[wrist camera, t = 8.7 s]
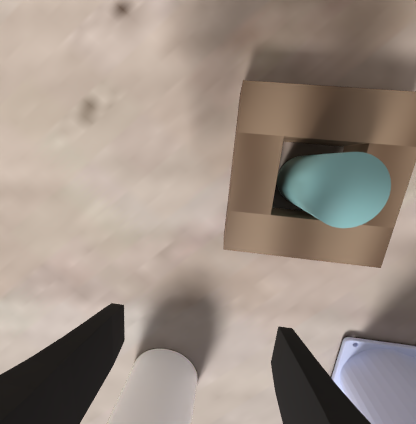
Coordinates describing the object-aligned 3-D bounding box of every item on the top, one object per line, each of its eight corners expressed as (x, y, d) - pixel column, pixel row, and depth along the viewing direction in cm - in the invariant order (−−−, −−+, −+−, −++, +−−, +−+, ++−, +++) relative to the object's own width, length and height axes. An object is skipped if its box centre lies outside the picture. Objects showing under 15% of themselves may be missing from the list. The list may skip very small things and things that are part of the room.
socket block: (398, 106, 15) (438, 93, 13) (356, 251, 18) (380, 267, 16) (240, 94, 16) (243, 80, 13) (223, 236, 19) (223, 249, 16)
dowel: (332, 160, 17) (404, 159, 10) (317, 206, 18) (373, 234, 11) (284, 151, 17) (322, 144, 10) (271, 198, 18) (299, 220, 11)
